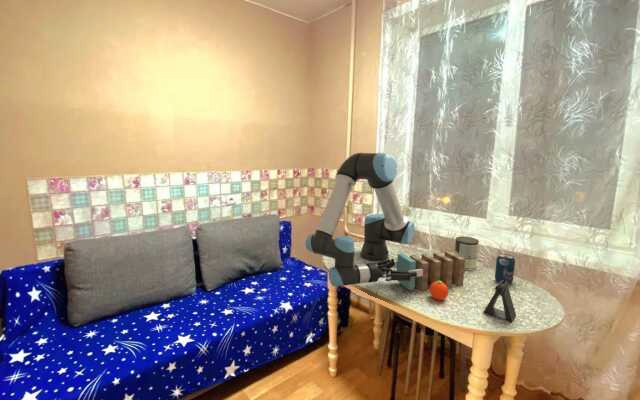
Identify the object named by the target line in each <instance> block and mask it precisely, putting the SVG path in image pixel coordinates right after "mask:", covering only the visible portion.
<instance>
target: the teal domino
mask: <svg viewBox="0 0 640 400" xmlns="http://www.w3.org/2000/svg"><path fill="white" fill-rule="evenodd" d="M396 257H397V258H396V259H397V260H396V261H397V268H396V271H405V272H408V271H409V270H415V268H416V261H415V260H413V259H411V258H410V256H408V255H407V254H405V253H404V252H401V253H397V256H396ZM398 282H399V283H400V284H401V285H402V286H404V287H405V288H406V289H407V290H410V291H411V290H415V287H416V286H415V277H411V280H410V281H398Z"/></svg>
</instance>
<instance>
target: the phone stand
mask: <svg viewBox="0 0 640 400" xmlns="http://www.w3.org/2000/svg"><path fill="white" fill-rule="evenodd" d="M503 281H504V280H501V281H500V283H499V282H498V284H497V285H496V286H495V288H494V289H495V292H494V294H493V296H492V297H491V298H490V300H489V302H488V303H487V305H486V307H485V308H484V310H483V314H485V315H487V316H490V317H493V318H497V319H500V320H502V319H503V321H505V320H506V322H508V321H509V322H508V323H513V321H514V319H515V318H516V316H517V313H516V310H515V307H514V303H513V300H512V296H511V292H510V284H509V282H508V281H506V282H505V283H504V284H502V282H503ZM499 297H501V300H502V305H503V309H504V310H502V309H499V308H496V307H495V306H496V304H497V301H498V299H499Z"/></svg>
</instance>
